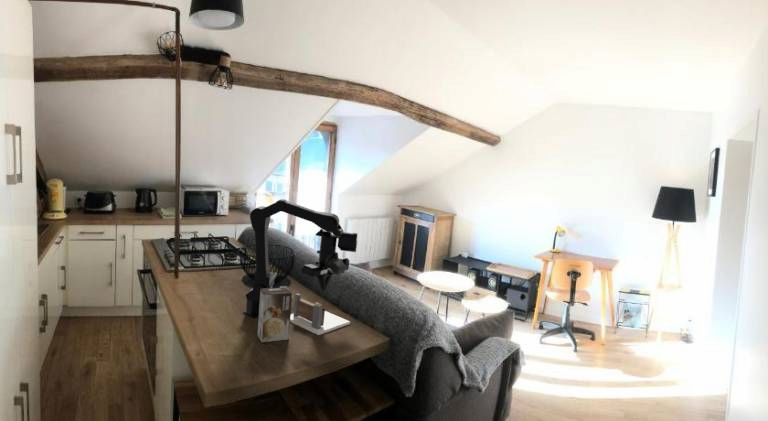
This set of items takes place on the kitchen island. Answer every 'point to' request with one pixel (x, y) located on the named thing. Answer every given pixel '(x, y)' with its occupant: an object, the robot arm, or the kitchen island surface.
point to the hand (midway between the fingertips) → (323, 290)
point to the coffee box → (274, 314)
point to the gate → (308, 310)
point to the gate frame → (317, 319)
